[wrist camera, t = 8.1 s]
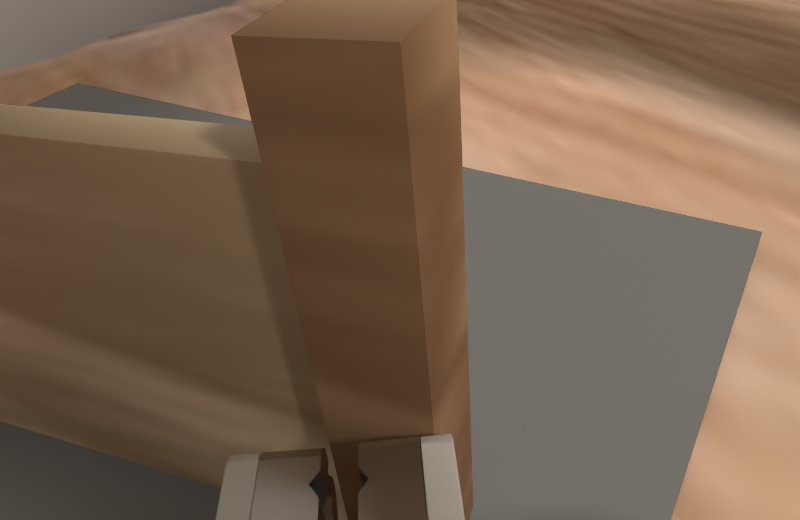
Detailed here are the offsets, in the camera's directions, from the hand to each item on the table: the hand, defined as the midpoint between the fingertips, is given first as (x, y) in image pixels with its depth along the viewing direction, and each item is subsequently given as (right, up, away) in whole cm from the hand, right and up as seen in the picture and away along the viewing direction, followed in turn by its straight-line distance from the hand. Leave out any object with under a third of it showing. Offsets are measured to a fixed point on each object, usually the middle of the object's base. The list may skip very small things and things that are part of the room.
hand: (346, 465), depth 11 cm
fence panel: (-5, -2, +6) cm, 8 cm away
